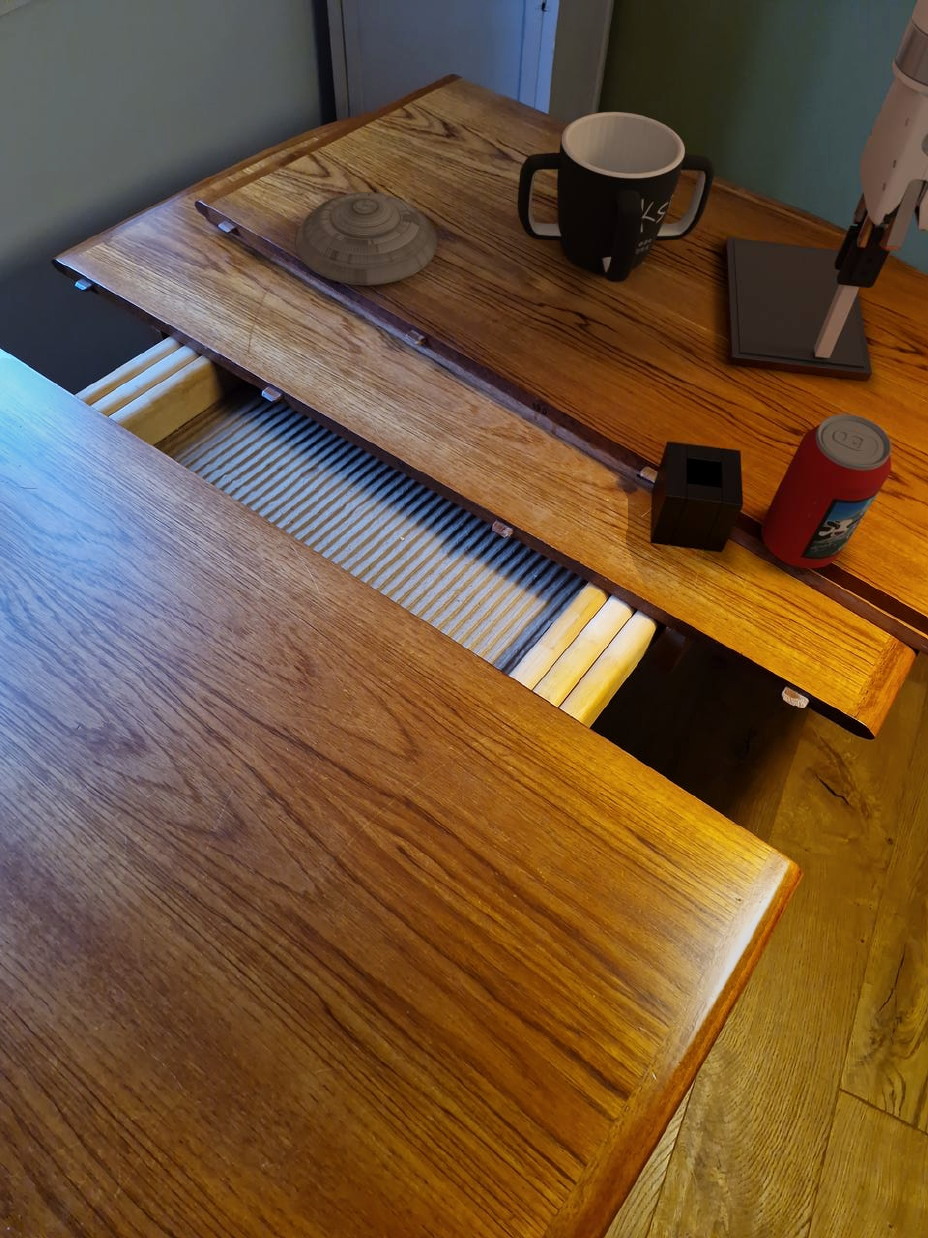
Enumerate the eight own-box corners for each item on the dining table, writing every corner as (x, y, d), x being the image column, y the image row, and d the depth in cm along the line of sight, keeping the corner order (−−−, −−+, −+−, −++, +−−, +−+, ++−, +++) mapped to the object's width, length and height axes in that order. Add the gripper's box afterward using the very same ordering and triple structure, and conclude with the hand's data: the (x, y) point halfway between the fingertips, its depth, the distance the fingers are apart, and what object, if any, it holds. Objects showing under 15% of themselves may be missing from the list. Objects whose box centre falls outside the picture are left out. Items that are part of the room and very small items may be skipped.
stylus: (828, 348, 87) (884, 214, 76) (829, 358, 87) (886, 223, 75) (813, 347, 87) (867, 213, 76) (814, 356, 87) (869, 222, 75)
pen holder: (720, 499, 78) (740, 450, 73) (722, 553, 74) (743, 505, 69) (651, 490, 78) (667, 440, 73) (650, 543, 75) (666, 495, 70)
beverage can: (822, 587, 73) (886, 487, 63) (745, 551, 74) (794, 448, 65) (848, 533, 76) (912, 430, 66) (774, 500, 78) (825, 394, 68)
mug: (603, 319, 91) (625, 208, 81) (498, 244, 97) (506, 133, 87) (707, 260, 97) (740, 150, 87) (602, 193, 104) (621, 84, 94)
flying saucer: (453, 226, 99) (454, 178, 94) (415, 308, 91) (415, 260, 86) (324, 202, 100) (319, 154, 96) (275, 281, 92) (268, 232, 88)
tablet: (847, 259, 98) (851, 249, 97) (868, 381, 87) (873, 372, 86) (724, 245, 99) (727, 235, 98) (729, 364, 88) (732, 355, 87)
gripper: (1028, 113, 60) (906, 337, 76) (984, 12, 69) (883, 231, 84) (915, 101, 61) (817, 327, 76) (886, 3, 69) (803, 222, 85)
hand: (852, 275), depth 80 cm, fingers closed on stylus, 1 cm apart
